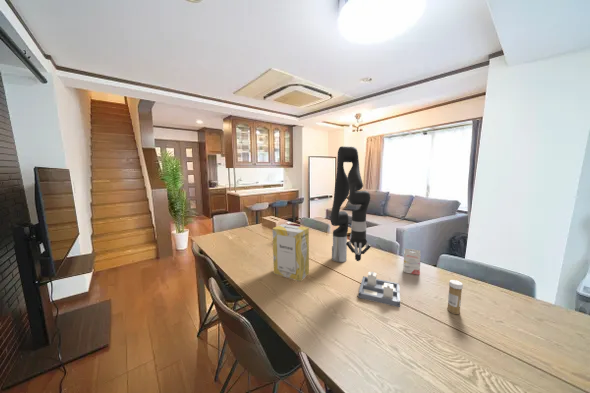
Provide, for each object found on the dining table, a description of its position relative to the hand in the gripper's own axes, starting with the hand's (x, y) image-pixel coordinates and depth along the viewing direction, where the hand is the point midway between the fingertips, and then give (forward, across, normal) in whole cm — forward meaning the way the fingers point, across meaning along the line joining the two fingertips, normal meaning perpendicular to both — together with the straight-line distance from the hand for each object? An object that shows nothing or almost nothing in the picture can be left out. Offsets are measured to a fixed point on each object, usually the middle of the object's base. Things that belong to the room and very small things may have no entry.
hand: (358, 260), depth 113 cm
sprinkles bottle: (+14, +41, -6) cm, 44 cm away
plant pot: (+12, -62, +49) cm, 80 cm away
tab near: (+12, +15, -8) cm, 21 cm away
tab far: (+12, +7, 0) cm, 14 cm away
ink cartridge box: (+13, +27, +26) cm, 40 cm away
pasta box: (+13, -38, -4) cm, 40 cm away
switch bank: (+13, +11, -4) cm, 18 cm away
